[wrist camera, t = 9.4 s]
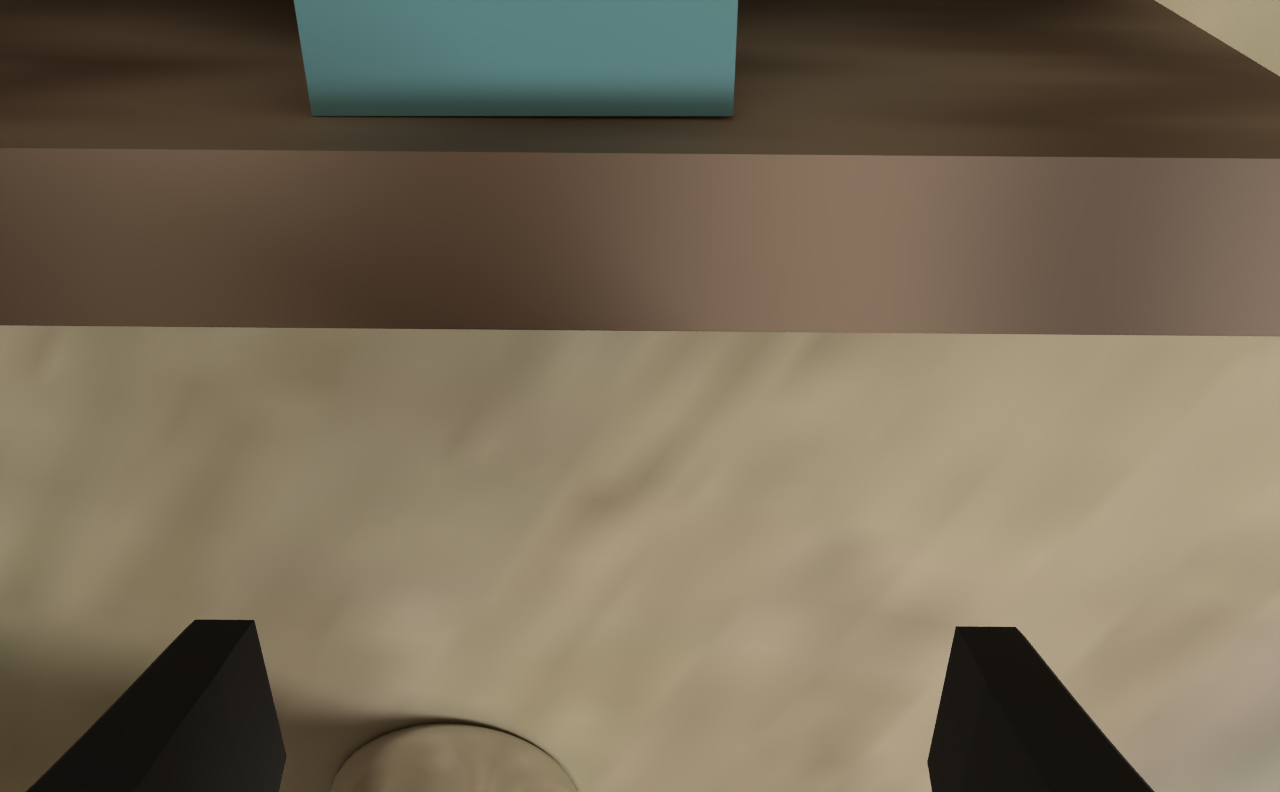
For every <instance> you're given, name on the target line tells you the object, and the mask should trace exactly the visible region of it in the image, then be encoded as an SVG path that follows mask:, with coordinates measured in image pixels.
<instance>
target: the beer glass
mask: <svg viewBox="0 0 1280 792" xmlns="http://www.w3.org/2000/svg"><path fill="white" fill-rule="evenodd" d="M330 792H578V789H577V787H576V785H575V784H574V782H573V780H572V779H571V777H570V776H569V775H568V773H567V772H566V771H565V770H564V769H563V768H562V767H561V766H560V765H559V764H558V763H557V762H556V761H555V760H554V759H553V758H551V757H550V756H549V755H547V754H546V753H545V752H543V751H542V750H540V749H539V748H537V747H535V746H534V745H532V744H530V743H528V742H526V741H524V740H522V739H520V738H517V737H515V736H513V735H510V734H507V733H504V732H501V731H497V730H494V729H490V728H485V727H480V726H474V725H466V724H452V723H443V724H427V725H419V726H413V727H409V728H405V729H401V730H397V731H394V732H391V733H388V734H386V735H383V736H381V737H379V738H377V739H375V740H373V741H371V742H369V743H367V744H366V745H364V746H363V747H361V748H360V749H358V750H357V751H356V752H355V753H354V754H352V755H351V756H350V757H349V758H348V760H347V761H346V762H345V763H344V764H343V766H342V767H341V769H340V770H339V772H338V774H337V776H336V777H335V779H334V782H333V784H332V787H331V791H330Z"/></svg>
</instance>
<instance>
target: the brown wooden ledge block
mask: <svg viewBox="0 0 1280 792" xmlns="http://www.w3.org/2000/svg"><path fill="white" fill-rule="evenodd" d="M0 325H38V326H153V327H268V328H383V329H498V330H612V331H727V332H842V333H957V334H1072V335H1187V336H1280V76H1278V75H1276V74H1275V73H1273V72H1271V71H1270V70H1268V69H1266V68H1265V67H1263V66H1261V65H1260V64H1258V63H1257V62H1255V61H1253V60H1252V59H1250V58H1248V57H1247V56H1245V55H1243V54H1242V53H1240V52H1238V51H1237V50H1235V49H1233V48H1232V47H1230V46H1229V45H1227V44H1225V43H1224V42H1222V41H1220V40H1219V39H1217V38H1215V37H1214V36H1212V35H1210V34H1209V33H1207V32H1205V31H1204V30H1202V29H1201V28H1199V27H1197V26H1196V25H1194V24H1192V23H1191V22H1189V21H1187V20H1186V19H1184V18H1182V17H1181V16H1179V15H1178V14H1176V13H1174V12H1173V11H1171V10H1169V9H1168V8H1166V7H1164V6H1163V5H1161V4H1159V3H1158V2H1156V1H1154V0H738V13H737V36H736V59H735V82H734V105H733V116H312V112H311V106H310V100H309V93H308V87H307V81H306V74H305V68H304V62H303V56H302V49H301V43H300V37H299V30H298V24H297V18H296V12H295V5H294V0H0Z"/></svg>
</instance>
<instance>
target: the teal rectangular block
mask: <svg viewBox="0 0 1280 792" xmlns="http://www.w3.org/2000/svg"><path fill="white" fill-rule="evenodd" d="M294 5H295V12H296V18H297V24H298V30H299V37H300V43H301V49H302V56H303V62H304V68H305V74H306V81H307V87H308V93H309V100H310V106H311V112H312V116H733V105H734V82H735V59H736V36H737V13H738V0H294Z"/></svg>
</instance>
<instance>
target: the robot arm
mask: <svg viewBox="0 0 1280 792" xmlns="http://www.w3.org/2000/svg"><path fill="white" fill-rule="evenodd" d="M285 760H286V752H285V748H284V744H283V740H282V736H281V731H280V727H279V723H278V719H277V714H276V710H275V706H274V702H273V697H272V693H271V689H270V685H269V681H268V676H267V672H266V668H265V664H264V659H263V655H262V651H261V647H260V642H259V638H258V634H257V630H256V626H255V621H254V620H194V621H193V622H192V623H191V624H190V625H189V626H188V627H187V628H186V629H185V630H184V631H183V632H182V633H181V634H180V635H179V636H178V637H177V638H176V639H175V640H174V641H173V642H172V643H171V644H170V645H169V646H168V647H167V648H166V649H165V650H164V651H163V652H162V654H161V655H160V656H159V657H158V658H157V659H156V660H155V661H154V662H153V663H152V664H151V665H150V666H149V667H148V668H147V669H146V670H145V671H144V672H143V673H142V675H141V676H140V677H139V678H138V679H137V680H136V681H135V682H134V683H133V684H132V685H131V686H130V687H129V688H128V689H127V690H126V691H125V692H124V693H123V694H122V695H121V697H120V698H119V699H118V700H117V701H116V702H115V703H114V704H113V705H112V706H111V707H110V708H109V709H108V710H107V711H106V712H105V713H104V714H103V715H102V716H101V717H100V718H99V719H98V720H97V721H96V722H95V723H94V725H93V726H92V727H91V728H90V729H89V730H88V731H87V732H86V733H85V734H84V735H83V736H82V737H81V738H80V739H79V740H78V741H77V742H76V743H75V744H74V745H73V746H72V747H71V748H70V749H69V750H68V751H67V752H66V753H65V754H64V755H63V756H62V757H61V758H60V759H59V760H58V761H57V762H56V763H55V764H54V765H53V766H52V767H51V768H50V769H49V770H48V771H47V772H46V773H45V774H44V775H43V776H42V777H41V778H40V779H39V780H38V781H37V782H36V783H35V784H34V785H32V786H31V787H30V788H29V789H28V790H27V791H26V792H278V791H279V787H280V782H281V778H282V773H283V769H284V764H285ZM928 768H929V774H930V780H931V786H932V792H1154V791H1153V790H1152V788H1151V787H1150V786H1149V785H1148V784H1147V783H1146V782H1145V781H1144V779H1143V778H1142V777H1141V776H1140V775H1139V774H1138V773H1137V772H1136V770H1135V769H1134V768H1133V767H1132V766H1131V765H1130V764H1129V763H1128V761H1127V760H1126V759H1125V758H1124V757H1123V756H1122V755H1121V753H1120V752H1119V751H1118V750H1117V749H1116V748H1115V746H1114V745H1113V744H1112V743H1111V742H1110V740H1109V739H1108V738H1107V737H1106V736H1105V735H1104V733H1103V732H1102V731H1101V730H1100V729H1099V727H1098V726H1097V725H1096V724H1095V723H1094V721H1093V720H1092V719H1091V718H1090V717H1089V715H1088V714H1087V713H1086V712H1085V711H1084V709H1083V708H1082V707H1081V706H1080V705H1079V703H1078V702H1077V701H1076V700H1075V698H1074V697H1073V696H1072V695H1071V693H1070V692H1069V691H1068V690H1067V689H1066V687H1065V686H1064V685H1063V684H1062V682H1061V681H1060V680H1059V679H1058V677H1057V676H1056V675H1055V674H1054V672H1053V671H1052V670H1051V669H1050V668H1049V666H1048V665H1047V664H1046V663H1045V661H1044V660H1043V659H1042V658H1041V656H1040V655H1039V654H1038V653H1037V651H1036V650H1035V649H1034V648H1033V646H1032V645H1031V644H1030V643H1029V641H1028V640H1027V639H1026V638H1025V637H1024V635H1023V634H1022V633H1021V632H1020V631H1019V630H1018V629H1017V628H1016V627H956V629H955V634H954V639H953V643H952V648H951V653H950V658H949V662H948V667H947V672H946V677H945V681H944V686H943V691H942V696H941V700H940V705H939V710H938V715H937V719H936V724H935V729H934V734H933V738H932V743H931V748H930V753H929V757H928Z"/></svg>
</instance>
